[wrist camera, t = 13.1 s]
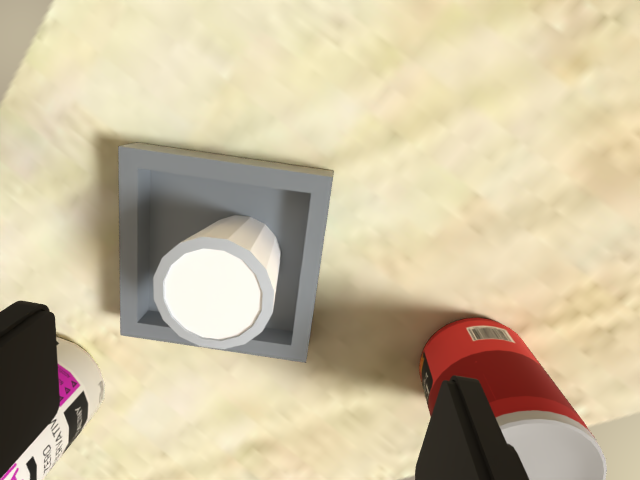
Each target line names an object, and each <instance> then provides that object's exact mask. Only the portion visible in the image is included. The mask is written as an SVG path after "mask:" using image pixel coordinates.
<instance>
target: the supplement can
mask: <svg viewBox="0 0 640 480" xmlns="http://www.w3.org/2000/svg"><path fill="white" fill-rule="evenodd" d="M56 344H57V360H58V377H59V394H60V406H59V410H58V412H57V414H56V416H55V418H54V419H53V420H52V421H51V422H50V424H49V425H48V426H47V427H46V428H45V429H44V430H43V431H42V433H41V434H40V435H39V436H38V437H37V438H36V439H35V440H34V442H33V443H32V444H31V445H30V446H29V447H28V448H27V450H26V451H25V452H24V453H23V454H22V455H21V456H20V457H19V459H18V460H17V461H16V462H15V463H14V464H13V465H12V466H11V468H10V469H9V470H8V471H7V472H6V473H5V474H4V476H3V477H2V478H1V479H0V480H43V479H44V477H45V476H46V475H47V473H48V472H49V471H50V470H51V468H52V467H53V466H54V465H55V463H56V462H57V461H58V460H59V458H60V457H61V456H62V455H63V453H64V452H65V451H66V450H67V448H68V447H69V446H70V445H71V443H72V442H73V441H74V439H75V438H76V437H77V436H78V434H79V433H80V432H81V431H82V429H83V428H84V427H85V426H86V424H87V423H88V422H89V421H90V419H91V418H92V417H93V416H94V414H95V413H96V412H97V410H98V409H99V407H100V405H101V403H102V401H103V400H104V393H105V382H104V379H103V376H102V373H101V370H100V368H99V366H98V364H97V363H96V362H95V361H94V359H93V358H92V357H91V355H90V354H89V353H88V352H87V351H85V350H84V349H82V348H81V347H80V346H78V345H77V344H75V343H72V342H70V341H67V340H64V339H62V338H58V337H56Z"/></svg>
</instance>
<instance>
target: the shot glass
mask: <svg viewBox="0 0 640 480" xmlns="http://www.w3.org/2000/svg"><path fill="white" fill-rule="evenodd" d="M280 253H281V250H280V247H279V244H278V242H277V239H276V236H275V235H274V234H273V233H272V232H271V230H270V229H269V228H268V227H267V226H266V225H265V224H264V223H262V222H260V221H258V220H256V219H254V218H252V217H248V216H239V215H234V216H230V217H227V218H223V219H220V220H218V221H217V222H215V223H213V224H211V225H210V226H208V227H206V228H205V229H203V230H201V231H199V232H198V233H196V234H194V235H192V236H191V237H189V238H187V239H186V240H184V241H182V242H180V243H179V244H178V245H177V246H175V247H174V248H173V249H172V250H171V251H169V252H168V253H167V254H166V255H165V256H163V257H162V259H161V261H160V264H159V266H158V268H157V270H156V273H155V275H154V277H153V286H154V301H155V303H156V305H157V308H158V310H159V312H160V314H161V316H162V319H163V320H164V321H165V322H166V323H167V324H168V325H169V326H170V327H171V328H172V329H173V330H174V331H175V332H176V333H177V334H178V335H179V336H180V337H182V338H184V339H186V340H188V341H190V342H192V343H194V344H196V345H198V346H200V347H208V348H216V349H227V348H231V347H235V346H239V345H243V344H246V343H247V342H249V341H250V340H251V339H253V338H254V337H255V336H257V335H258V334H260V333H261V332H262V331H263V329H264V328H265V326H266V324H267V322H268V321H269V319H270V317H271V315H272V313H273V307H274V300H275V293H276V286H277V280H278V273H279V266H280Z"/></svg>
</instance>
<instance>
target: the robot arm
mask: <svg viewBox="0 0 640 480" xmlns="http://www.w3.org/2000/svg"><path fill="white" fill-rule="evenodd" d="M59 406H60V394H59V377H58V360H57V344H56V327H55V316H54V314H53V313H52V312H49V308H48V307H47V306H46V305H43V304H38V303H32V302H26V301H17V302H15V303H13V304H12V305H10V306H9V307H7V308H6V309H4V310H3V311H1V312H0V479H1V478H2V477H3V476H4V474H5V473H6V472H7V471H8V470H9V469H10V468H11V466H12V465H13V464H14V463H15V462H16V461H17V460H18V459H19V457H20V456H21V455H22V454H23V453H24V452H25V451H26V450H27V448H28V447H29V446H30V445H31V444H32V443H33V442H34V440H35V439H36V438H37V437H38V436H39V435H40V434H41V433H42V431H43V430H44V429H45V428H46V427H47V426H48V425H49V424H50V422H51V421H52V420H53V419H54V418H55V416H56V414H57V412H58V410H59ZM415 480H529V477H528V475H527V473H526V471H525V469H524V466H523V464H522V462H521V460H520V458H519V456H518V453H517V452H516V450H515V448H514V447H513V446H512V445H510V444H507V442H506V440H505V438H504V436H503V433H502V431H501V429H500V427H499V424H498V422H497V420H496V418H495V415H494V413H493V411H492V409H491V406H490V404H489V402H488V400H487V397H486V395H485V393H484V390H483V388H482V386H481V384H480V382H479V380H477V379H473V378H467V377H462V376H456V375H453V376H452V377H451V378H450V380H449V381H448V380H443V382H442V384H441V387H440V390H439V393H438V396H437V399H436V403H435V406H434V409H433V412H432V416H431V419H430V422H429V425H428V428H427V432H426V435H425V438H424V441H423V445H422V448H421V451H420V454H419V457H418V461H417V464H416V470H415Z"/></svg>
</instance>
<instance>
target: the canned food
mask: <svg viewBox="0 0 640 480" xmlns="http://www.w3.org/2000/svg"><path fill="white" fill-rule="evenodd" d="M419 373H420V378H421V382H422V385H423V389H424V393H425V397H426V401H427V404H428V408H429V412H430V416H432V412H433V409H434V406H435V403H436V399H437V396H438V393H439V390H440V387H441V384H442V382H443V380H448V381H449V380H450V378H451V377H452V376H453V375H456V376H462V377H467V378H473V379H477V380H479V382H480V384H481V386H482V388H483V390H484V393H485V395H486V397H487V400H488V402H489V404H490V406H491V409H492V411H493V413H494V415H495V418H496V420H497V422H498V424H499V427H500V429H501V431H502V433H503V436H504V438H505V440H506V442H507V444H510V445H512V446H513V447H514V448H515V450H516V452H517V453H518V456H519V458H520V460H521V462H522V464H523V466H524V469H525V471H526V473H527V475H528V477H529V480H605V478H606V471H607V468H606V460H605V457H604V454H603V453H602V450H601V448H600V446H599V445H598V443H597V441H596V439H595V437H594V436H593V435H592V433H591V432H590V431H589V429H588V428H587V426H586V425H585V423H584V422H583V420H582V419H581V418H580V416H579V415H578V414H577V412H576V411H575V410H574V408H573V407H572V406H571V404H570V403H569V402H568V400H567V399H566V398H565V396H564V395H563V394H562V392H561V391H560V390H559V388H558V387H557V386H556V384H555V383H554V382H553V380H552V379H551V378H550V376H549V375H548V374H547V372H546V371H545V370H544V368H543V367H542V366H541V364H540V363H539V362H538V360H537V359H536V358H535V356H534V355H533V354H532V352H531V351H530V350H529V348H528V347H527V346H526V344H525V343H524V342H523V340H522V339H521V338H520V337H519V336H518V334H516V333H515V332H514V331H513V330H511V329H510V328H508V327H506V326H504V325H502V324H500V323H498V322H496V321H493V320H489V319H485V318H466V319H462V320H458V321H455V322H452V323H450V324H448V325H446V326H444V327H443V328H441V329H439V330H438V331H437V332H436V333H435V334H434V335H433V336H432V337H431V338H430V339H429V341H428V342H427V343H426V345H425V347H424V349H423V352H422V356H421V360H420V365H419Z"/></svg>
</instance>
